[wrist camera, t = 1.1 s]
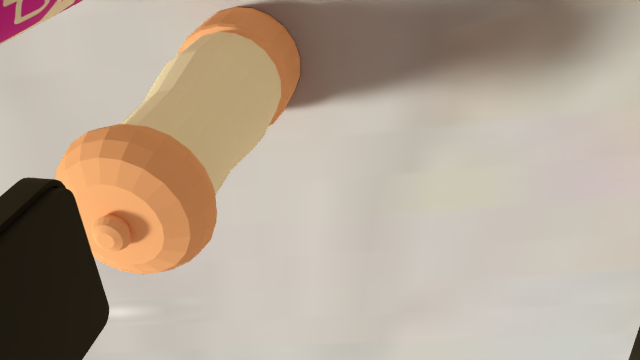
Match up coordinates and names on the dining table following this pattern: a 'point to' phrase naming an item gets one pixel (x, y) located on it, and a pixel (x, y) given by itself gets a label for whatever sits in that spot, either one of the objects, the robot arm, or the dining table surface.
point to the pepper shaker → (181, 143)
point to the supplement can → (27, 14)
